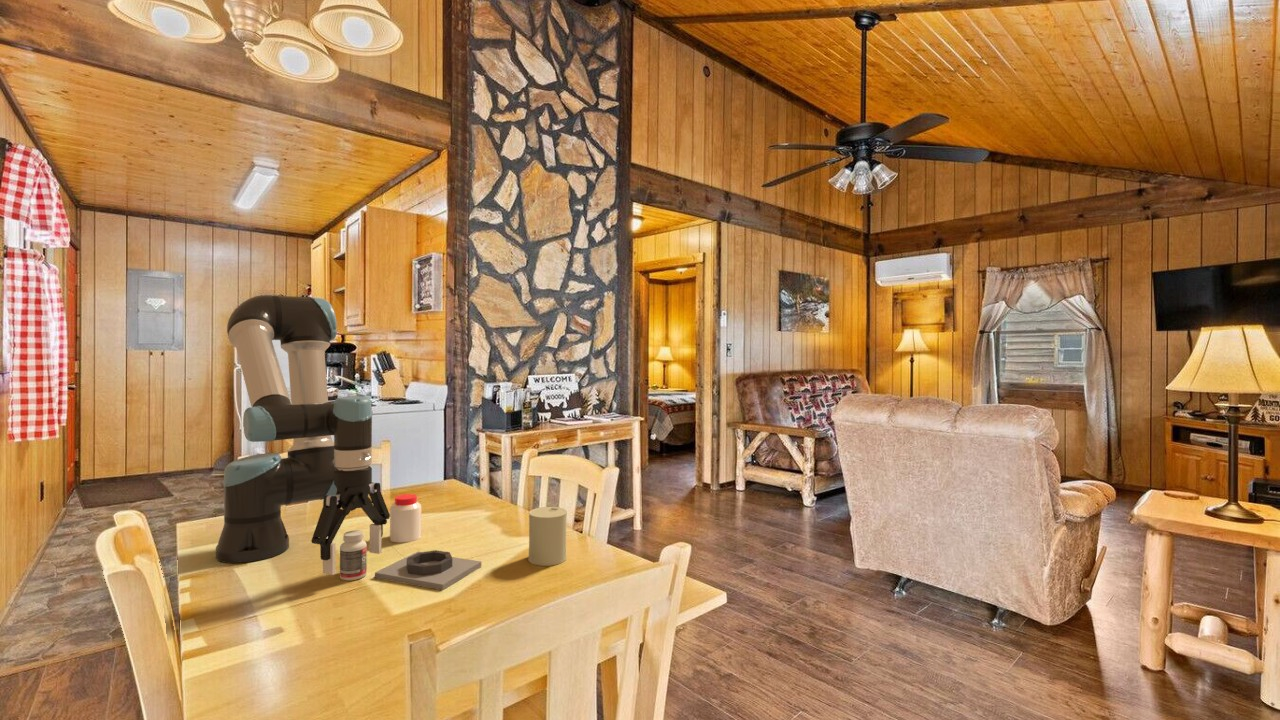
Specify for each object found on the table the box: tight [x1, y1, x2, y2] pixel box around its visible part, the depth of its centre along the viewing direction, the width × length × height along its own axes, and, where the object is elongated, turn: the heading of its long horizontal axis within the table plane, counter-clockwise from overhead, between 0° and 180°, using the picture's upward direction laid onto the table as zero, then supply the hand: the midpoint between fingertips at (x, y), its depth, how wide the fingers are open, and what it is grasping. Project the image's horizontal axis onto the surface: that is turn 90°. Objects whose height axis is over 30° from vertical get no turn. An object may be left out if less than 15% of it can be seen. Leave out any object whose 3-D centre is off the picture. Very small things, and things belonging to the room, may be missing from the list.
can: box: [527, 506, 568, 567], centre depth 145 cm, size 9×9×12 cm
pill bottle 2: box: [389, 493, 422, 544], centre depth 158 cm, size 8×8×11 cm
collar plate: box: [374, 549, 482, 591], centre depth 135 cm, size 18×14×3 cm
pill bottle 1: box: [339, 529, 368, 582], centre depth 132 cm, size 5×5×10 cm
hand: (353, 562), depth 132 cm, fingers open, 12 cm apart
